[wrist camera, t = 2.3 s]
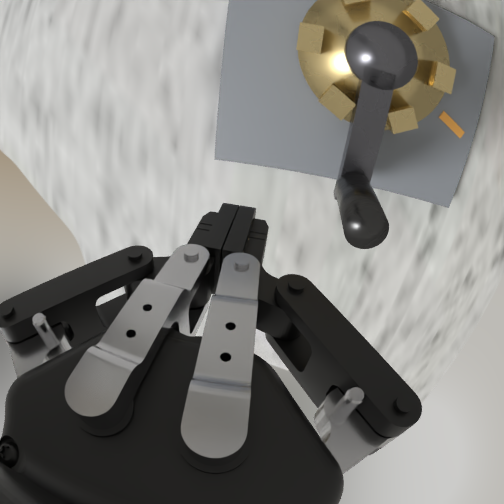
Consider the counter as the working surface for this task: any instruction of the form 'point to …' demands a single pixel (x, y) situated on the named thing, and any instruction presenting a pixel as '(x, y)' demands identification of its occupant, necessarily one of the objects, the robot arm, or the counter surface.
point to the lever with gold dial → (372, 88)
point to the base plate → (325, 122)
